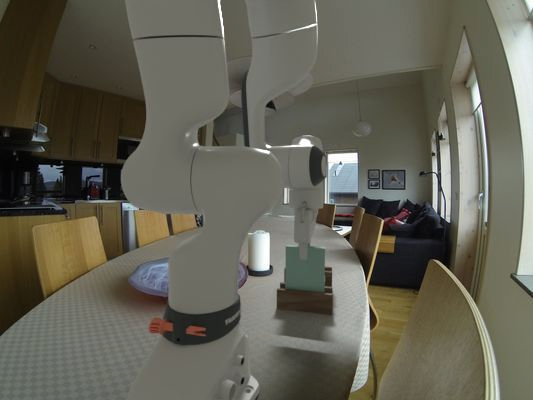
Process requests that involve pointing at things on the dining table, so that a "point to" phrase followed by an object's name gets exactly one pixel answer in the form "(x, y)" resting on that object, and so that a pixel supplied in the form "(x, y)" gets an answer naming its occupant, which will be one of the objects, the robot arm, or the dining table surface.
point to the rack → (307, 297)
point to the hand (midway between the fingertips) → (305, 254)
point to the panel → (305, 269)
